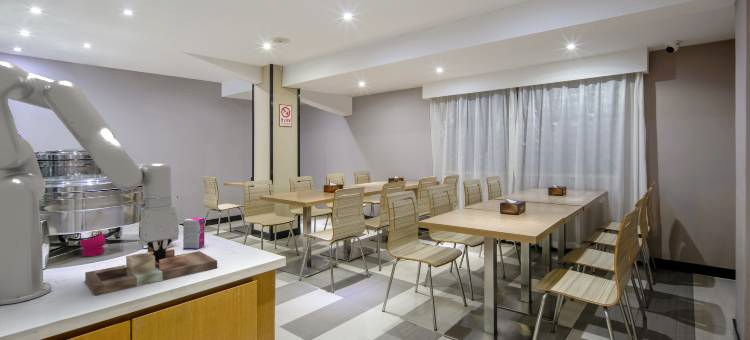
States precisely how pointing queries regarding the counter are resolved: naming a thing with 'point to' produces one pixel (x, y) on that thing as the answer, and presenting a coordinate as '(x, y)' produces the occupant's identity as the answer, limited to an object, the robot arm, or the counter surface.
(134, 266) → the maple block
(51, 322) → the counter surface
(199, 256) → the board
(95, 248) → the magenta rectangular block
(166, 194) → the robot arm
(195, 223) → the supplement box
